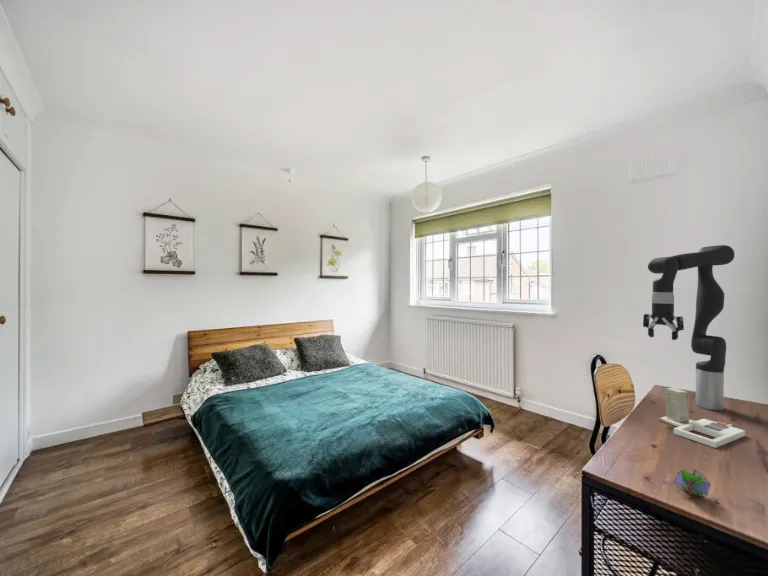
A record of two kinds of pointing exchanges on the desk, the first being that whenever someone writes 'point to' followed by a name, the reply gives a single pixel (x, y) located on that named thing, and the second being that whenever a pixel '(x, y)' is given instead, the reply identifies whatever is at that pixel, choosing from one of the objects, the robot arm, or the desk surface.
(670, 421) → the cream flat rectangular plate
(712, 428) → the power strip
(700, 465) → the desk surface
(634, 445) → the desk surface
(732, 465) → the desk surface
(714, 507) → the desk surface
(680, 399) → the skincare box
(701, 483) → the geometric puzzle
